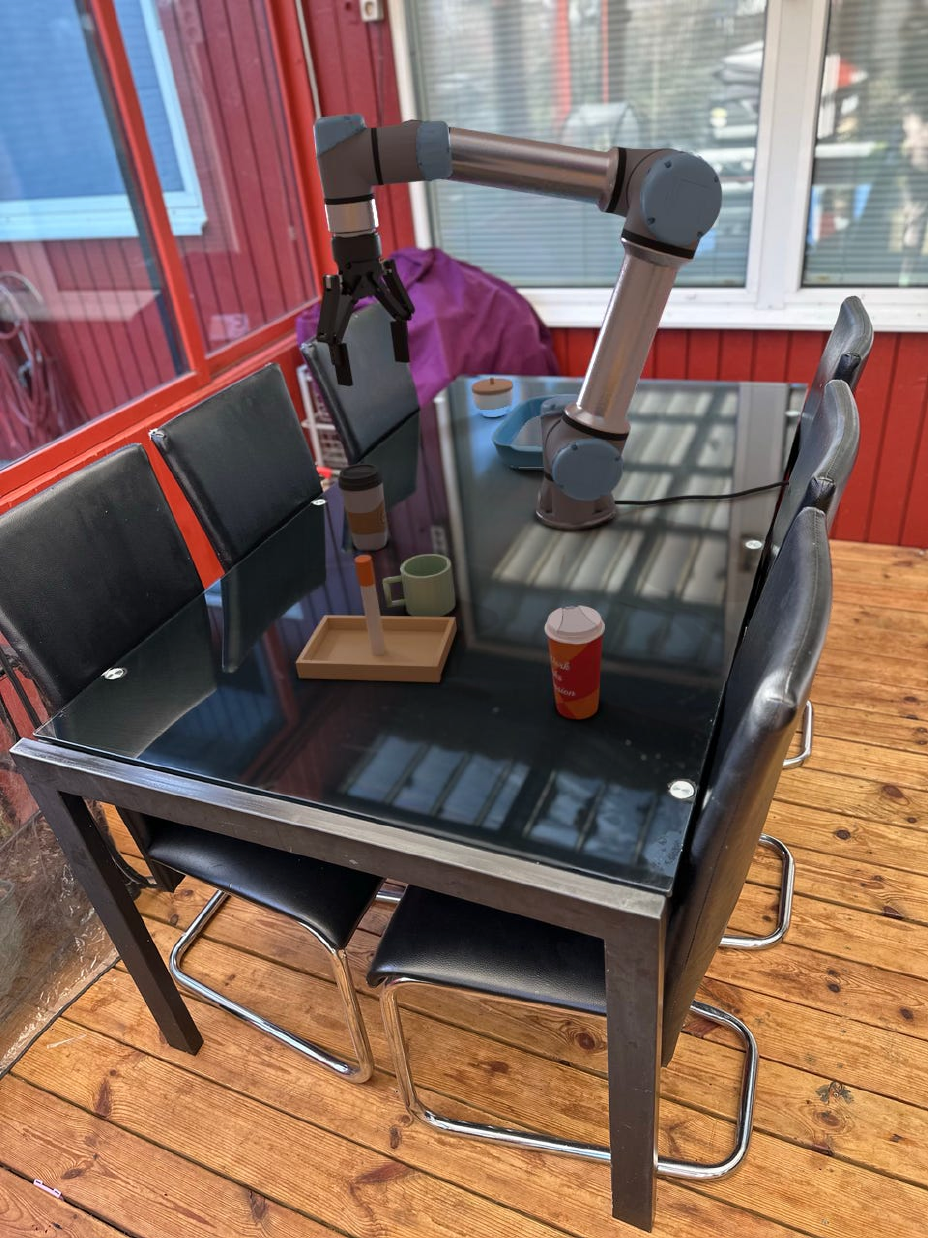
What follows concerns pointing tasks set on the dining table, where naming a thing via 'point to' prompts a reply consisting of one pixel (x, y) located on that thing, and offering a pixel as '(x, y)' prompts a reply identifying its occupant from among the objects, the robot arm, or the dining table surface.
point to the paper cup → (575, 659)
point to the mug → (424, 586)
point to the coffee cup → (364, 505)
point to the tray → (348, 655)
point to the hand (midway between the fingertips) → (374, 373)
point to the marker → (370, 603)
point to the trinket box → (492, 393)
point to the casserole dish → (511, 429)
